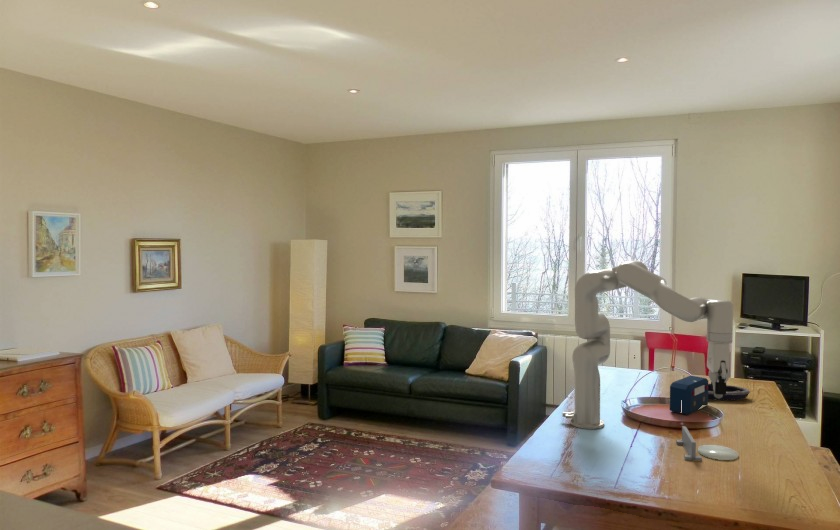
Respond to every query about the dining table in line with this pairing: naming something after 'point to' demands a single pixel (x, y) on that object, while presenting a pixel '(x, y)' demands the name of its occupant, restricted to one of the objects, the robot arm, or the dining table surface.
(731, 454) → the white round dome
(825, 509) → the dining table surface
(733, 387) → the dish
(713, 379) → the lightbulb
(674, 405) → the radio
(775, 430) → the dining table surface
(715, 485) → the dining table surface
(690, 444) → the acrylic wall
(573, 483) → the dining table surface
